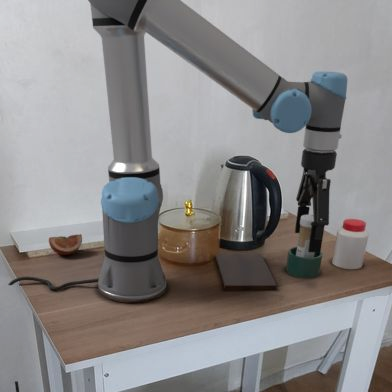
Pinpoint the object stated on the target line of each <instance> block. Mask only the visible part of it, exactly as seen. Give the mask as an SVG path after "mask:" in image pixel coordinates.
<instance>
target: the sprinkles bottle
mask: <svg viewBox="0 0 392 392" xmlns="http://www.w3.org/2000/svg"><path fill="white" fill-rule="evenodd" d="M312 222H314V217H313V214H309V215H302V216H301V219H300V233H298V237H297V238H298V239H297V245H296V247H297V252H296V256H298V257H303V258H314V253H315V252H308V249H309V242H310V235H311V228H312V226H311V223H312Z"/></svg>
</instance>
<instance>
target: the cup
mask: <svg viewBox="0 0 392 392" xmlns="http://www.w3.org/2000/svg"><path fill="white" fill-rule="evenodd" d="M296 252H297V246H292V247H290V248H289V249H288V251H287V258H286V265H285V271H286V272H287V274H289V275H290V276H292V277H297V278H302V279H311V278H317V277H318V276H319V275H320V273H321V267H322V260H323V254H324V253H323V252H322V251H321V252H315V253H314V258H303V257H298V256H296Z"/></svg>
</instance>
